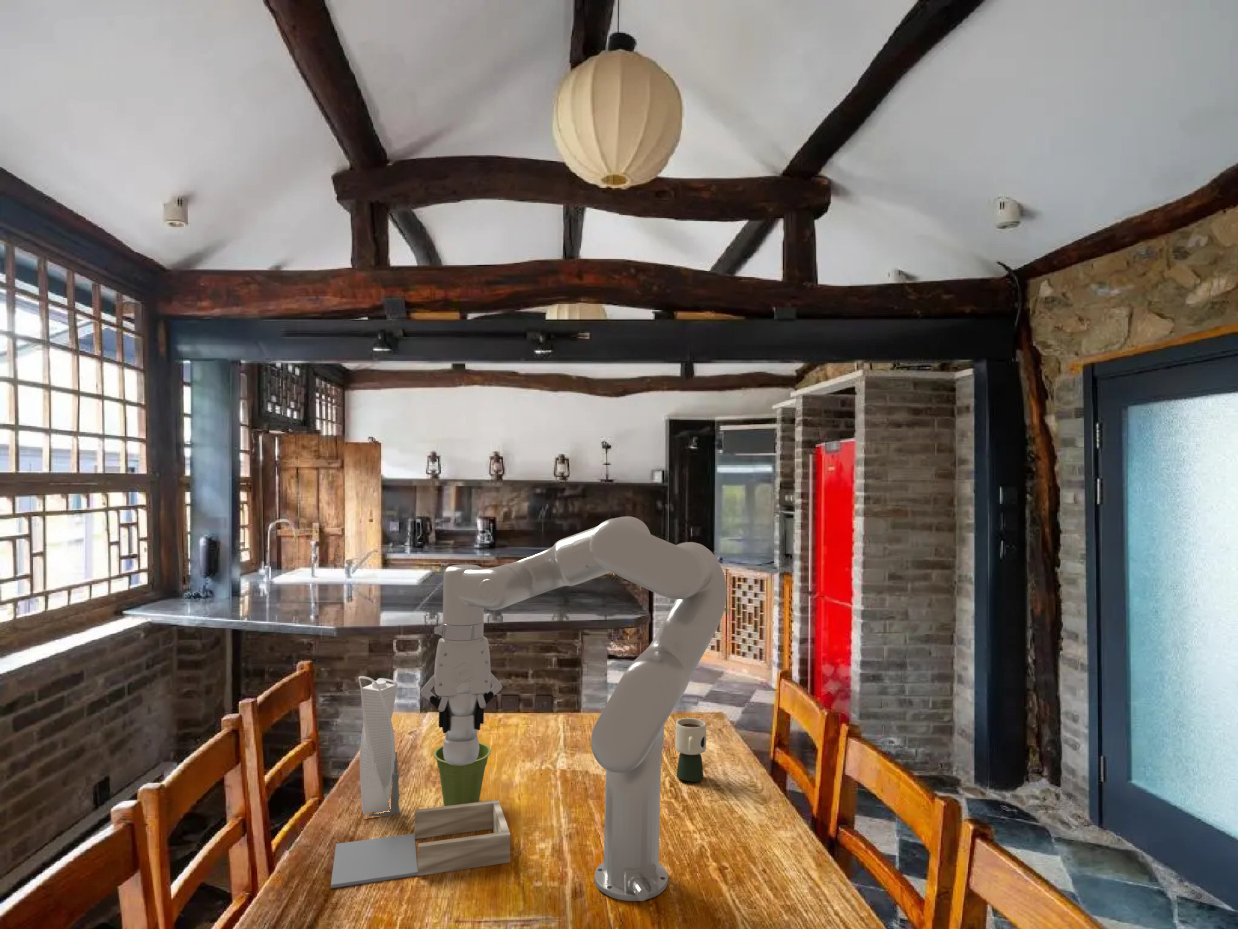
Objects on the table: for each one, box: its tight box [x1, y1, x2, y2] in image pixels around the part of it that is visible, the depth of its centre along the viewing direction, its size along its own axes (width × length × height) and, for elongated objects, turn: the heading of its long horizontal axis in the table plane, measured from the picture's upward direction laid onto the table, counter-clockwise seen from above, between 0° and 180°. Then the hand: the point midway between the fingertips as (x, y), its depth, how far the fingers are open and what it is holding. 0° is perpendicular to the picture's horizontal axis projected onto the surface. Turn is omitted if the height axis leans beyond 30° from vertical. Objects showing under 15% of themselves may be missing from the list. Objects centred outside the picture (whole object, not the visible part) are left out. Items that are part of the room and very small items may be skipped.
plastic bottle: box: [442, 682, 479, 766], centre depth 134 cm, size 6×7×20 cm
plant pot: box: [433, 742, 492, 806], centre depth 151 cm, size 12×12×11 cm
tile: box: [330, 833, 418, 889], centre depth 129 cm, size 14×14×1 cm
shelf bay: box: [413, 799, 511, 877], centre depth 133 cm, size 14×16×5 cm
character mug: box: [674, 717, 707, 783], centre depth 166 cm, size 11×7×13 cm, turn 175°
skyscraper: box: [357, 675, 401, 817], centre depth 149 cm, size 8×8×28 cm
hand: (461, 728), depth 133 cm, fingers closed on plastic bottle, 5 cm apart
